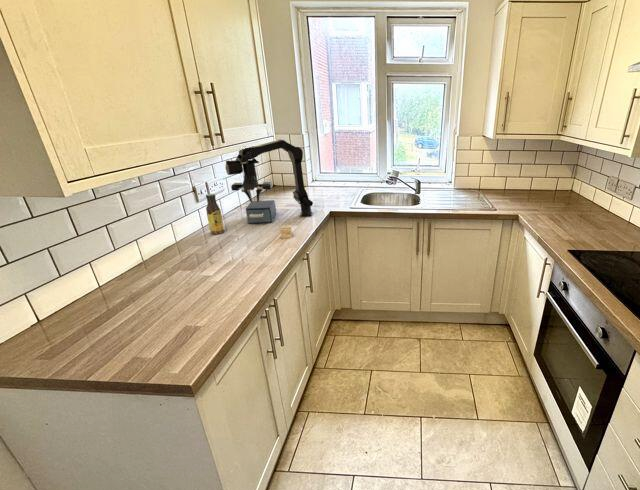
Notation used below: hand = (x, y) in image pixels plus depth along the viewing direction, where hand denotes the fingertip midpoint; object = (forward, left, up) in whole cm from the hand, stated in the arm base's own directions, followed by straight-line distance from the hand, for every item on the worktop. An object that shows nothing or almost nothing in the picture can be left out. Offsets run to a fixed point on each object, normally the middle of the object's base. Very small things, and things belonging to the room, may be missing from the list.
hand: (254, 202), depth 166 cm
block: (+19, +17, -13) cm, 28 cm away
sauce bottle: (+8, -18, -13) cm, 24 cm away
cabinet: (-11, 0, -13) cm, 17 cm away
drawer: (-6, 0, -12) cm, 14 cm away
